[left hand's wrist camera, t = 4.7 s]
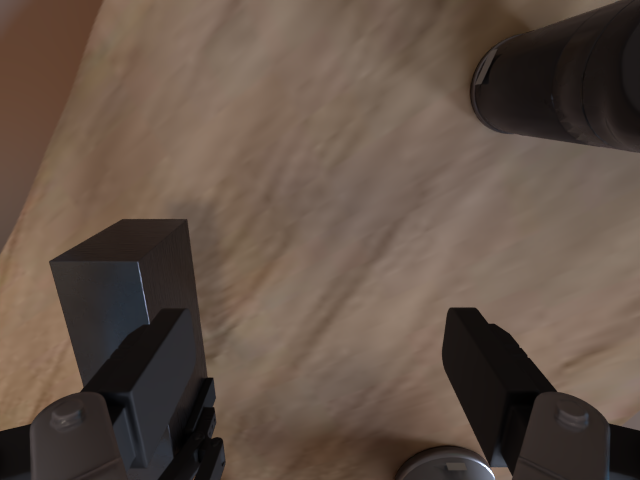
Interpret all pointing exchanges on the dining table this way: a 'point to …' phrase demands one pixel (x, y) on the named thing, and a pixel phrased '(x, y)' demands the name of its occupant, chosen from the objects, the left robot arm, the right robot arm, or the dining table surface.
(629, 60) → the left robot arm
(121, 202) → the dining table surface
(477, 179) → the dining table surface
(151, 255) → the box
